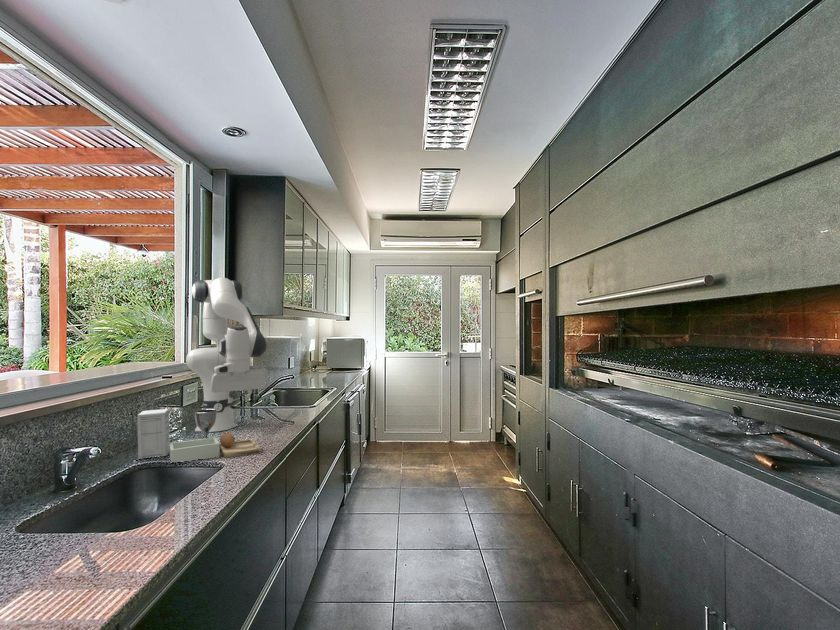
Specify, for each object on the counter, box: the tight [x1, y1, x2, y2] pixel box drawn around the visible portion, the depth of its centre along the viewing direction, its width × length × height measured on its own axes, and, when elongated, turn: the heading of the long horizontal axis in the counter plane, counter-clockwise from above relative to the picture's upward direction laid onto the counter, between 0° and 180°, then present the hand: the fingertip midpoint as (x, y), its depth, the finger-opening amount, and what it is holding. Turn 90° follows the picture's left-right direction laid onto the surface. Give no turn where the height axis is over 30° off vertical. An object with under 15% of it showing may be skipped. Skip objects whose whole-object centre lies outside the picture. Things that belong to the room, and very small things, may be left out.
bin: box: [169, 436, 221, 464], centre depth 173 cm, size 12×16×5 cm
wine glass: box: [194, 409, 216, 439], centre depth 185 cm, size 8×8×15 cm
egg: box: [219, 432, 236, 447], centre depth 184 cm, size 5×5×8 cm
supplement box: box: [136, 408, 171, 458], centre depth 176 cm, size 10×9×17 cm
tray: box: [219, 438, 262, 459], centre depth 181 cm, size 18×13×2 cm
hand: (238, 401), depth 182 cm, fingers open, 5 cm apart
